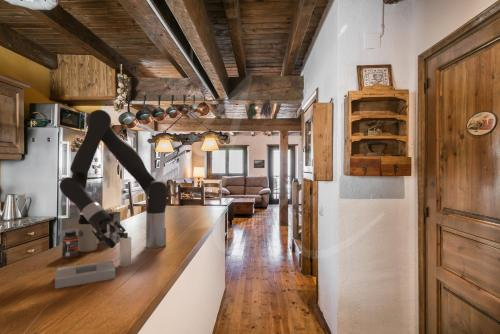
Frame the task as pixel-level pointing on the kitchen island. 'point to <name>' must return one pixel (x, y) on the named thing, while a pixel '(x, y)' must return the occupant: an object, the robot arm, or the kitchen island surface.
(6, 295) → the kitchen island surface
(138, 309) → the kitchen island surface
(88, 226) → the travel mug
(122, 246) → the plug
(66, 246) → the supplement bottle
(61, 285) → the socket
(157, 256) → the kitchen island surface
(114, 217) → the coffee box
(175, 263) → the kitchen island surface
